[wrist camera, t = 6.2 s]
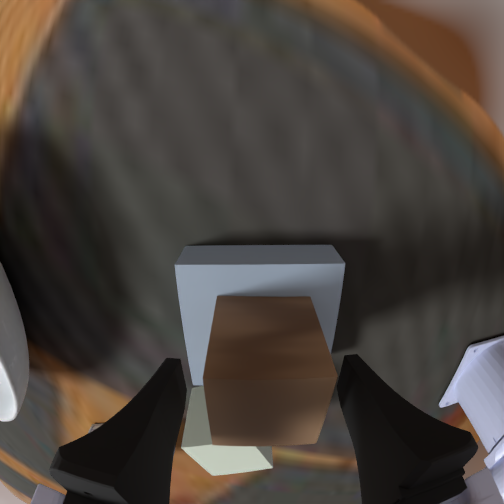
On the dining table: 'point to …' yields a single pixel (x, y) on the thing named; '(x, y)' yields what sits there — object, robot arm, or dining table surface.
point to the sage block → (215, 456)
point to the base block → (253, 285)
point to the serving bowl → (11, 353)
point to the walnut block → (267, 372)
